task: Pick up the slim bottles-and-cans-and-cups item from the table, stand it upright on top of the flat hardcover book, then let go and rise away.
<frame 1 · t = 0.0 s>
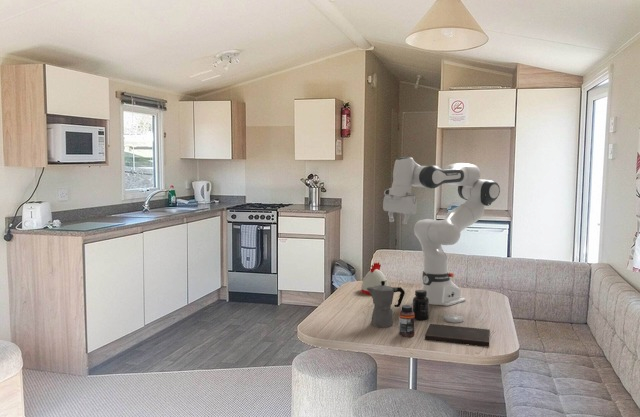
hand: (398, 223, 242), 39 cm above the table, tool pointing down, fingers open, 8 cm apart
hardcover book: (457, 338, 205), on the table
supplement bottle: (420, 319, 228), on the table
coffeepot: (384, 324, 219), on the table
kitchen timer: (374, 292, 274), on the table
white glossy disc: (453, 320, 226), on the table
supplement bottle 2: (406, 335, 206), on the table
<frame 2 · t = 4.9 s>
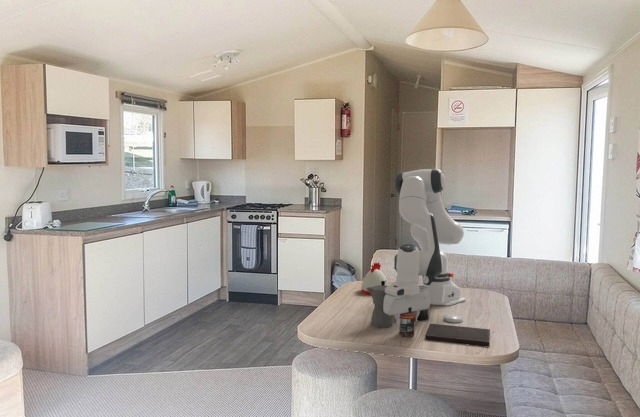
hand: (406, 323, 206), 5 cm above the table, tool pointing down, fingers closed on supplement bottle 2, 6 cm apart
supplement bottle 2: (406, 335, 206), on the table, touching gripper
everything else where it was.
when the fingers open (7 cm above the table, at t = 14.1 s): supplement bottle 2 stays where it is, resting on hardcover book.
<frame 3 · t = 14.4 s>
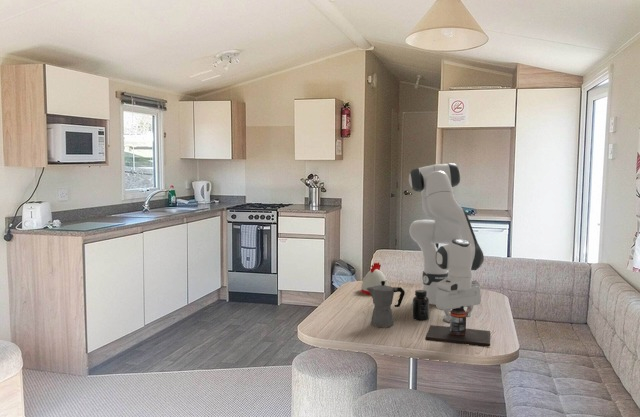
hand: (458, 318, 204), 7 cm above the table, tool pointing down, fingers open, 8 cm apart
hardcover book: (458, 340, 205), on the table, touching supplement bottle 2
supplement bottle 2: (457, 334, 205), point 1 cm above the table, touching hardcover book
everything else where it was.
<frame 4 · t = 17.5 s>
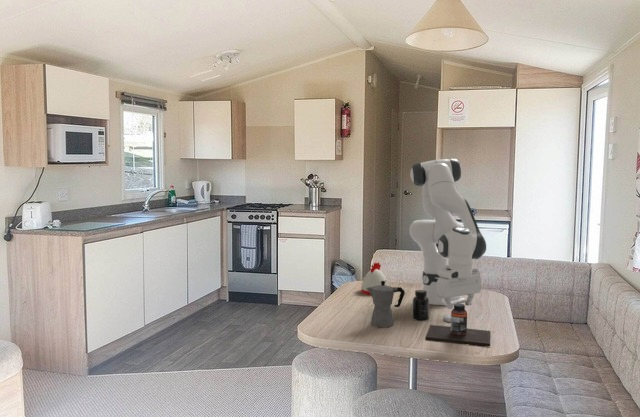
hand: (459, 306, 204), 12 cm above the table, tool pointing down, fingers open, 8 cm apart
nothing on the table moved.
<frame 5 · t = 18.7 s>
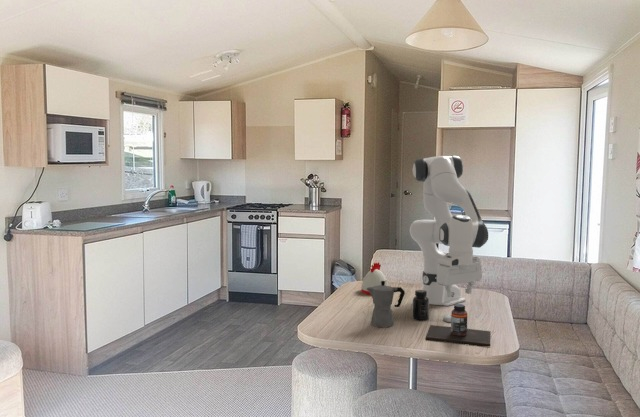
hand: (459, 294, 203), 16 cm above the table, tool pointing down, fingers open, 8 cm apart
nothing on the table moved.
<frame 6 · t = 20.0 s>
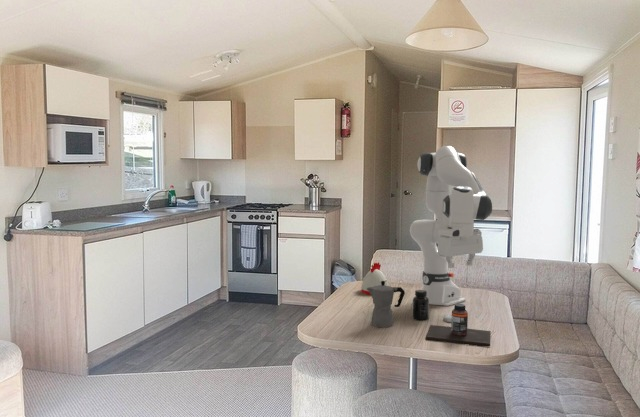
hand: (460, 266, 202), 27 cm above the table, tool pointing down, fingers open, 8 cm apart
nothing on the table moved.
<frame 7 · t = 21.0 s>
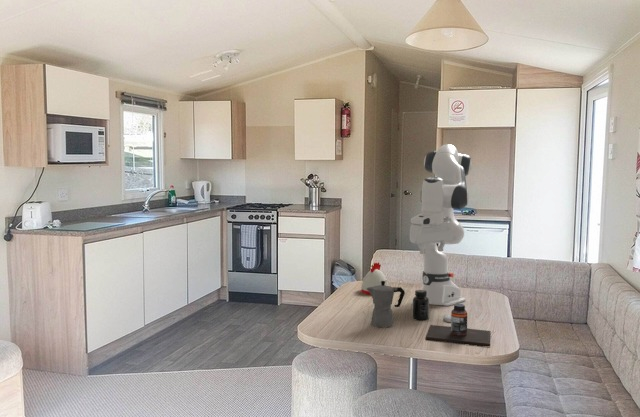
hand: (431, 252, 215), 30 cm above the table, tool pointing down, fingers open, 8 cm apart
nothing on the table moved.
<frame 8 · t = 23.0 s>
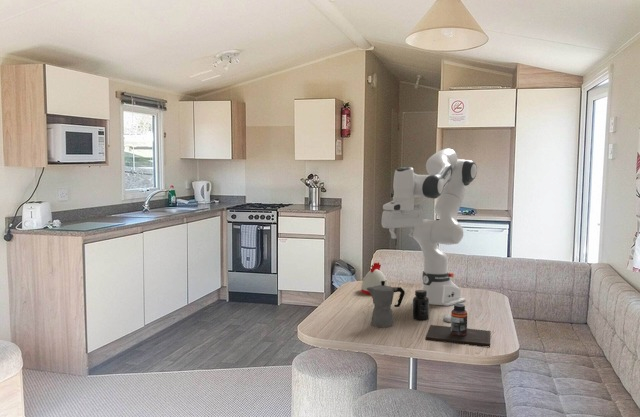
hand: (402, 237, 228), 34 cm above the table, tool pointing down, fingers open, 8 cm apart
nothing on the table moved.
at the end: supplement bottle 2 inside the target area on the hardcover book (0.0 cm from its centre), point 2.3 cm above the hardcover book's base; supplement bottle 2 tilted 1°; the gripper is holding nothing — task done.
